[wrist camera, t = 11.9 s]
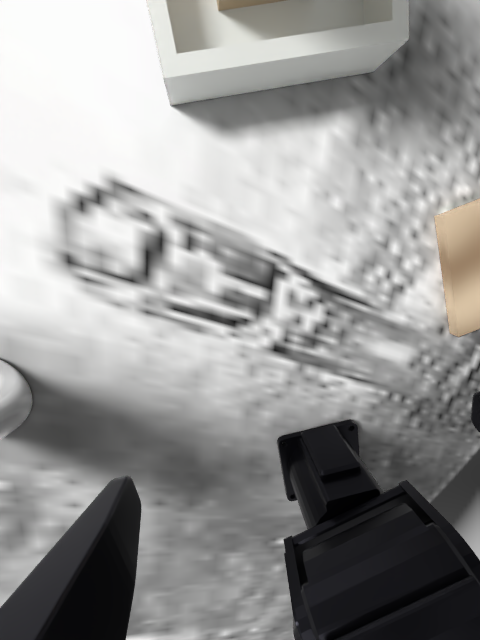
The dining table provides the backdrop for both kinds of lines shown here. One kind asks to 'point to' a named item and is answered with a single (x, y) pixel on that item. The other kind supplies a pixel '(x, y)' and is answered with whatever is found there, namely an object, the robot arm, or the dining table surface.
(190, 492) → the dining table surface
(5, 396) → the beer glass
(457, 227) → the cork coaster
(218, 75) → the tray
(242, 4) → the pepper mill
